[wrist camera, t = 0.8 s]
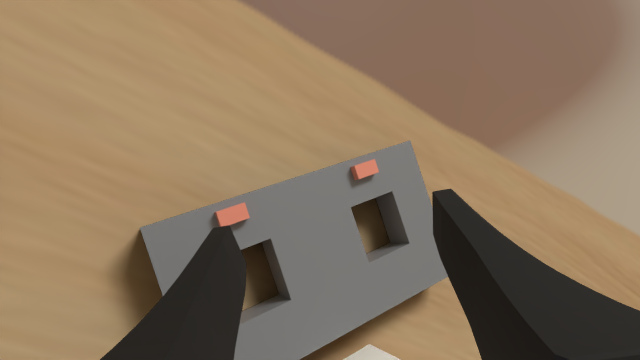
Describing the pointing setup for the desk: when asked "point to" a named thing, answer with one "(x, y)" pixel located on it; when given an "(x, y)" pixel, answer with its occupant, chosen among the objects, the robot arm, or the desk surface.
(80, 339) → the desk surface
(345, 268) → the socket
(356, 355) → the plug
